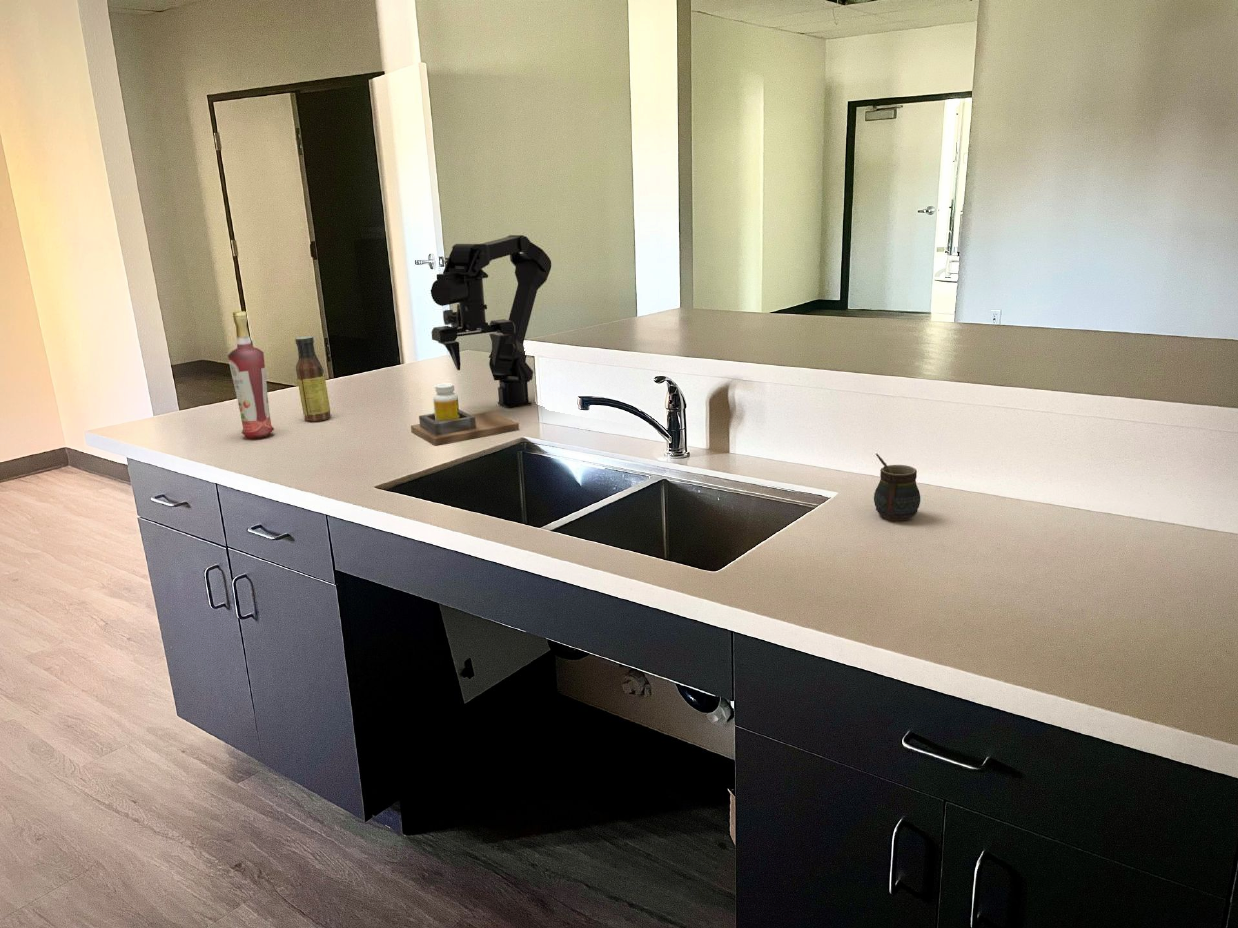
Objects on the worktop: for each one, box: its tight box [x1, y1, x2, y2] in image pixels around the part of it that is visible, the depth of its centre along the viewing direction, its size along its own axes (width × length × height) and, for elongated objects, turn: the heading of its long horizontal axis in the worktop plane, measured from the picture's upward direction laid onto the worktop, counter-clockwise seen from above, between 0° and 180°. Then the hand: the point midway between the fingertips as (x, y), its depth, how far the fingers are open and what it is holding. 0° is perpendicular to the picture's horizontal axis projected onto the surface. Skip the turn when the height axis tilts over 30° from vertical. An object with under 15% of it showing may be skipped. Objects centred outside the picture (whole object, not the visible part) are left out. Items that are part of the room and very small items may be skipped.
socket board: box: [410, 409, 520, 447], centre depth 202 cm, size 20×14×4 cm
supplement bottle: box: [432, 382, 460, 422], centre depth 199 cm, size 5×5×10 cm
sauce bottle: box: [294, 335, 331, 422], centre depth 214 cm, size 6×6×20 cm
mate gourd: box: [873, 453, 921, 522], centre depth 144 cm, size 7×8×10 cm
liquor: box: [227, 310, 275, 440], centre depth 200 cm, size 7×7×28 cm
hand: (476, 367), depth 210 cm, fingers open, 9 cm apart
